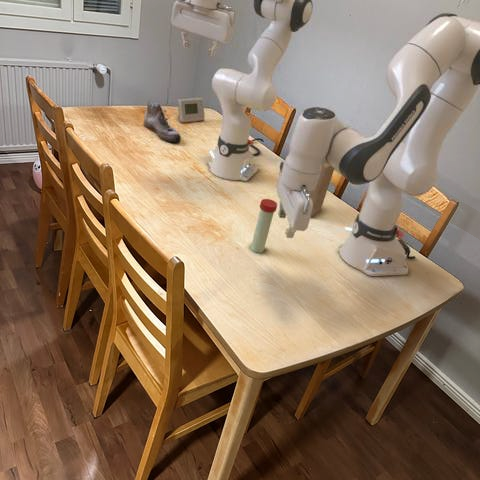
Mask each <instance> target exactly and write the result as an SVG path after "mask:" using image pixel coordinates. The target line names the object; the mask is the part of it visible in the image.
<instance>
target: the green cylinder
mask: <svg viewBox="0 0 480 480" xmlns="http://www.w3.org/2000/svg"><path fill="white" fill-rule="evenodd" d="M274 215H275V212H273V213H268V212H265V211H263V210H261V209H260V208H259V213H258V218H257V221H256V225H255V226H256V227H255V230H254V233H253V237H252V242H251V246H250V249H251V251H253V252H255V253H257V254H258V253H263V252H264V251H265V248H266V242H267V239H268V236H269V232H270V229H271V225H272V221H273V217H274Z"/></svg>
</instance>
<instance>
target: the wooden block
mask: <svg viewBox="0 0 480 480" xmlns="http://www.w3.org/2000/svg"><path fill="white" fill-rule="evenodd" d="M335 170H336V169H335V168H333V167H332V166H331V165H329V164H324V165H323V166H322V171H321V174H320V177H319V181H318V184H317V187H316V189H315V190H314V191H311V192H309V193H310V197H311V199H312V202H313V208H312V213H311V217H310V218H312V217H313V216H314V215H316V214H317V213H318V212H319V211H321V209H322V207H323V205H324V201H325V198H326V195H327V194H328V193H327V192H328V189H329V186H330V184H331V180H332V178H333V174H334V171H335Z"/></svg>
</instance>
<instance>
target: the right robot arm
mask: <svg viewBox="0 0 480 480" xmlns="http://www.w3.org/2000/svg"><path fill="white" fill-rule="evenodd" d="M385 76H386V83H387V86H388V88H389V90H390V92H391V93H392V95H393V97H394V99H395V100H396V106H395V107H394V110H393V111H392V112H391V114H389V116H388V117H387V118H386V120H385V121H384V122H383V124H382V126H381V127H380V128H379V129H378V130H377V132H376V133H375V134H374V135H372V136H370V137H367V136H365V135H363V134H362V133H360V132H358V131H357V130H356V129H355V128H353V127H351V126H349V125H347V124H346V123H344V122H342V121H341V120H340V118H338V117H337V115H336V113H335V111H333V110H331V109H329V108H326V107H319V106H314V107H308V108H306V109H304V110H303V111H302V113H301V114H300V115H299V117H298V118H297V122H296V123H295V125H294V129H293V132H292V135H291V139H290V142H289V152H288V155H287V156H286V157H285V160H280V162H279V167H278V168H279V170H280V171H279V173H278V177H277V183H276V194H277V197H278V199H279V208H278V213H277V215H278V217H279V219H285V218H286V219H287V221H288V227H287V228H286V229H285V233H284V234H285V237H286V238H287V239H293V238H294V237H295V233H296V232H297V231H298V232H299V231H300V232H305V231H306V230H307V229H308V228H309V224H310V221H311V218H312V217H311V213H312V208H313V202H312V199H311V197H310V193H309V192H311V191H314V190H315V189H316V187H317V184H318V181H319V177H320V174H321V171H322V166H323V165H324V164H329V165H331V166H332V167H333V168H335V169H334V170H336V171H337V172H339V173H340V174H341V176H342V177H344V179H346V180H347V181H348V182H349V183H350V184H352V185H355V186H359V185H366V184H367V189H366V190H367V191H366V194H365V198H364V200H363V202H362V205H361V208H360V211H359V213H358V214H357V216H356V217H355V220H354V222H353V225H352V227H347V226H345V228H344V230H346V231H351V232H350V234H349V235H348V237H347V239H346V241H345V242H344V243H343V245H342V246H341V247H340V249H339V250H338V251H339V252H338V253H339V256H340V257H341V259H342V260H343V261H344V262H345V263H346V264H348V265H349V266H350V267H353V268H355V269H357V270H359V271H361V272H363V273H364V274H365V275H367V276H369V277H382V276H385V277H386V276H399V275H408V273H409V266H408V263H407V262H406V259H408V260H412V259H416V256H415V255H413V256H410V254H411V248H410V246H408V244H407V243H406V242H405V241H404V240H403V239H401V238H403V237H404V232H403V231H402V230H401V229H398V228H399V227H398V226H397V225H396V224H397V222H398V220H399V217H400V215H401V212H402V210H403V208H404V200H403V195H402V194H403V193H405V194H407V195H409V196H411V197H421V196H423V195H425V194H427V193H429V192H430V191H431V190H432V189H433V188H434V186H435V185H436V183H437V181H438V177H439V172H438V159H439V156H440V155H439V154H440V152H441V150H442V149H441V148H442V146H443V143H444V141H445V139H446V138H447V136H448V134H449V133H450V132H451V130H452V128H453V127H454V126H455V124H456V123H457V122H458V121H459V119H460V117H461V116H462V115H463V113H464V112H465V110H467V108H468V106H469V105H470V104H471V101H472V100H473V99H474V97H475V95H476V94H477V91H478V90H479V88H480V21H478V20H477V21H476V20H473V19H469V18H465V17H463V16H458V15H457V14H455V13H451V12H450V13H449V12H444V13H439V14H438V15H436V16H435V17H433V18H431V19H430V20H429V21H428V22H427V24H426V25H425V27H423V28H422V29H420V30H419V31H418V32H417V33H416V34H415V35H414V36H413V37H411V38H410V39H409V40H408V41H407V42H406V43H405V44H404V45H403V46H402V47H400V49H399V50H398V51H397V52H396V53H395V54H394V55H393V57H392V58H391V59H390V61H389V63H388V64H387V68H386V74H385ZM405 139H406V140H405ZM402 192H403V193H402Z"/></svg>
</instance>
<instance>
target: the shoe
mask: <svg viewBox="0 0 480 480" xmlns="http://www.w3.org/2000/svg"><path fill="white" fill-rule="evenodd" d="M164 112H165V113H166V112H167V110H166V109H163V108H162V107H161V104H160V103H155V101H153V103H150V101H147V106H146V109H145V112H144V116H143V124H144V125H143V126H144V127H146V128H149V130H152V131H154V132H155V133H156V134H157V136H158V138H159V139H160V140H162V141H166V142H168V143H172V144H173V143H174V144H178V143H180V142H181V134H180V133H179V132H178V131H177V130H176V129H175V128H173V127H172V126H170V125H169V122H168V118H167V117H166V116H165V113H164Z"/></svg>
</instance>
